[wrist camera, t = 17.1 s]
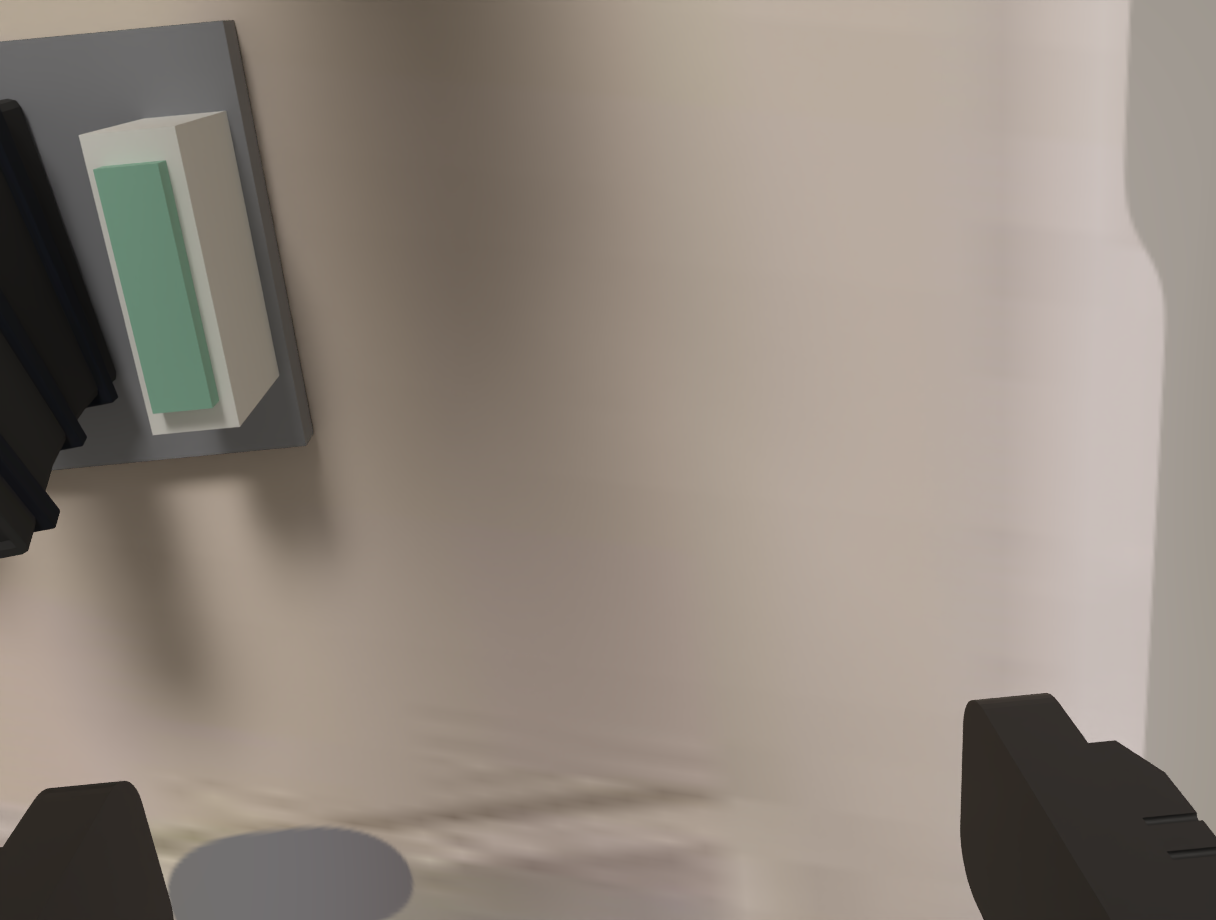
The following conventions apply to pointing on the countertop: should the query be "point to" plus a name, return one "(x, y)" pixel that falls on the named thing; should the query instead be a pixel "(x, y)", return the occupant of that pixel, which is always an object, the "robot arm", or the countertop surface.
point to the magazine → (39, 340)
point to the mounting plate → (120, 98)
